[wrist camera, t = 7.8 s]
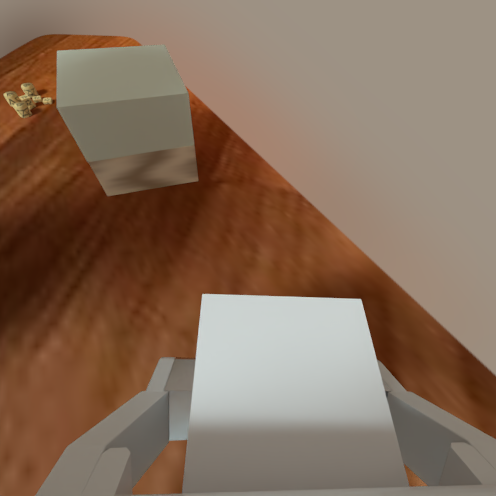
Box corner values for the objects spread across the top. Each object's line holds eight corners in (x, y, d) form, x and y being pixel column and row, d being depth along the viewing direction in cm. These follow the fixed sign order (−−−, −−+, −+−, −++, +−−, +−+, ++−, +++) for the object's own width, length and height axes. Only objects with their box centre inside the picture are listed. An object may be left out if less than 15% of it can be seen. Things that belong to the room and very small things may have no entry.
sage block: (87, 162, 23) (56, 107, 19) (82, 104, 28) (56, 50, 23) (194, 144, 25) (188, 93, 21) (173, 95, 30) (164, 44, 26)
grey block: (307, 457, 12) (419, 525, 5) (203, 459, 12) (177, 536, 5) (296, 347, 15) (361, 298, 8) (211, 346, 14) (202, 293, 8)
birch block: (108, 198, 27) (87, 160, 23) (105, 142, 32) (86, 102, 28) (198, 182, 30) (194, 145, 25) (182, 133, 34) (177, 95, 30)
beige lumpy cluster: (27, 123, 33) (17, 109, 32) (3, 109, 34) (-8, 95, 33) (61, 107, 36) (53, 93, 34) (38, 95, 37) (29, 81, 35)
